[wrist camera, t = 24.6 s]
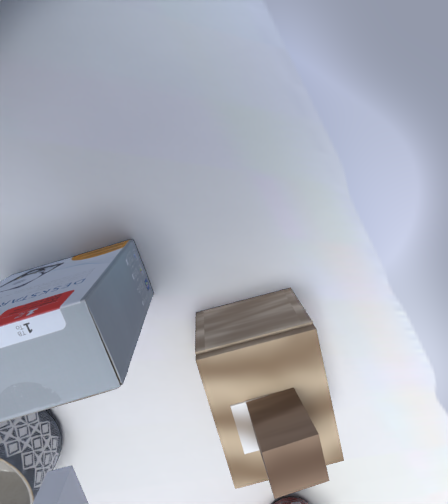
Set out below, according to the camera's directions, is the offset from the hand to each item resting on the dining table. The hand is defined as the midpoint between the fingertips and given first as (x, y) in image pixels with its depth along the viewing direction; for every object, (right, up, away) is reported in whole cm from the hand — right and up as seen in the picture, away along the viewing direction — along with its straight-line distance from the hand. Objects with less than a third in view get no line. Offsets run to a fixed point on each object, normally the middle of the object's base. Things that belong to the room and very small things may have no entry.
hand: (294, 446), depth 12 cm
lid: (+3, -10, +30) cm, 32 cm away
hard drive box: (-19, +2, +37) cm, 41 cm away
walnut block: (+3, -11, +29) cm, 31 cm away
